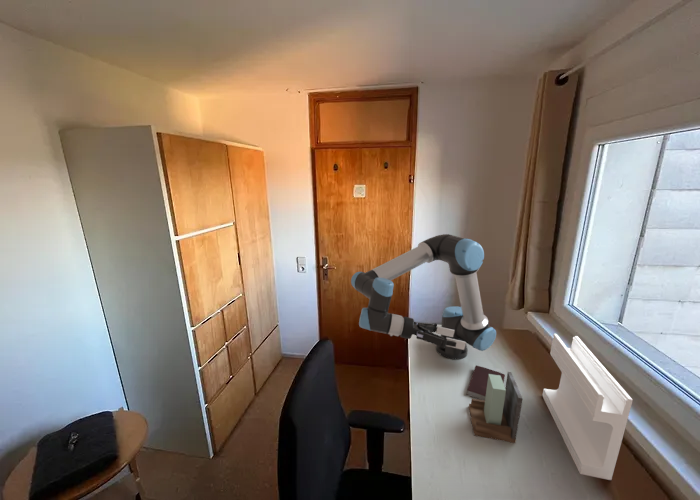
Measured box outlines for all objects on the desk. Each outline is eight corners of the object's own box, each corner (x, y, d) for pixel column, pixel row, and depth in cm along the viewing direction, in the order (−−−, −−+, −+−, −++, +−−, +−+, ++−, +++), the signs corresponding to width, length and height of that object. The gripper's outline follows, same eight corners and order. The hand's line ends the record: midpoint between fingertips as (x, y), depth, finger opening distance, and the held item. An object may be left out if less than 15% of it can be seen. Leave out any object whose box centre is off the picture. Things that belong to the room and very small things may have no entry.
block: (611, 480, 93) (632, 399, 86) (580, 473, 95) (598, 394, 88) (564, 399, 126) (577, 336, 119) (542, 395, 128) (553, 333, 121)
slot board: (468, 406, 121) (473, 367, 117) (505, 412, 119) (511, 372, 114) (474, 435, 108) (479, 392, 104) (515, 443, 105) (522, 398, 101)
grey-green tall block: (483, 411, 117) (488, 373, 113) (495, 413, 116) (500, 375, 112) (487, 427, 110) (493, 388, 106) (500, 430, 109) (505, 390, 105)
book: (504, 380, 138) (505, 373, 137) (499, 407, 122) (500, 400, 121) (474, 371, 144) (475, 364, 143) (465, 396, 128) (466, 389, 127)
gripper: (395, 326, 128) (447, 338, 127) (403, 348, 103) (467, 363, 102) (399, 308, 127) (451, 320, 126) (408, 326, 102) (472, 340, 101)
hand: (458, 339), depth 114 cm, fingers open, 13 cm apart
